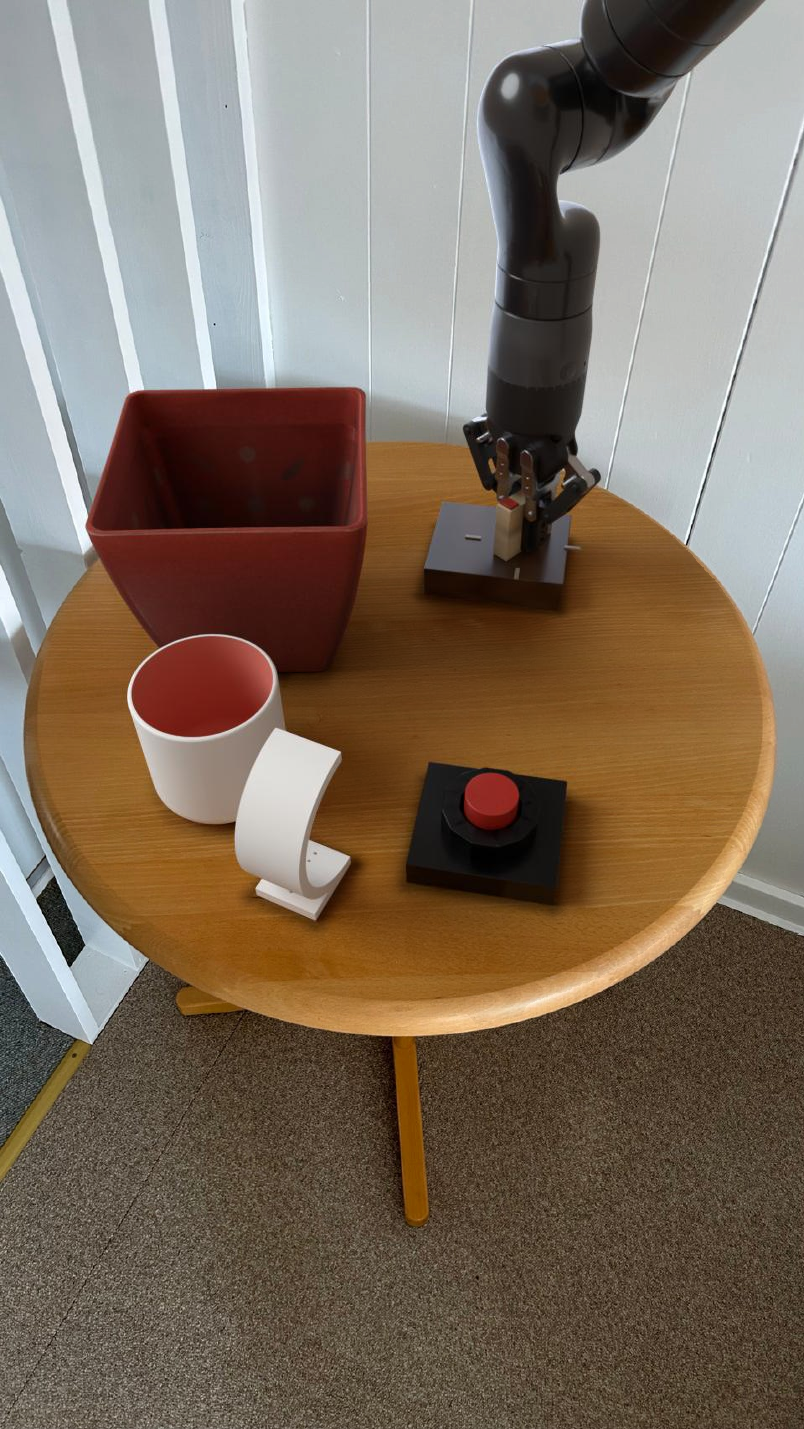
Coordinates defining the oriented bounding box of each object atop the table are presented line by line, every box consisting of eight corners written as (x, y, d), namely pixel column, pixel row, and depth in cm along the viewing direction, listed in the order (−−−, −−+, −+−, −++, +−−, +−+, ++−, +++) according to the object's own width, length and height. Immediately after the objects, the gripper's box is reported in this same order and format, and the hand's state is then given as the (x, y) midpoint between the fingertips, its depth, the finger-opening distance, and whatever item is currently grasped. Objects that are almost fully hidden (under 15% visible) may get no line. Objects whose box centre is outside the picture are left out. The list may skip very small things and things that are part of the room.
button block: (563, 799, 70) (570, 764, 67) (553, 905, 64) (560, 872, 61) (428, 780, 72) (429, 745, 69) (405, 882, 66) (405, 848, 63)
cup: (285, 832, 69) (269, 741, 61) (144, 832, 69) (112, 740, 61) (297, 727, 75) (284, 633, 68) (169, 726, 75) (142, 632, 68)
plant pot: (372, 550, 90) (366, 382, 78) (375, 699, 77) (367, 527, 65) (167, 555, 90) (127, 388, 77) (134, 706, 77) (80, 535, 64)
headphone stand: (351, 863, 67) (341, 752, 58) (307, 933, 63) (290, 826, 54) (293, 839, 68) (275, 727, 59) (248, 906, 65) (221, 798, 56)
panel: (579, 541, 91) (584, 513, 88) (571, 613, 84) (576, 585, 82) (441, 526, 92) (442, 499, 90) (423, 595, 86) (423, 567, 83)
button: (520, 792, 66) (522, 776, 65) (514, 834, 64) (516, 819, 63) (467, 784, 67) (469, 768, 66) (460, 826, 64) (461, 810, 63)
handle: (538, 524, 87) (543, 472, 83) (551, 532, 87) (558, 480, 83) (492, 553, 85) (496, 501, 81) (506, 561, 84) (510, 509, 80)
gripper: (643, 372, 71) (609, 558, 84) (504, 311, 78) (493, 492, 91) (577, 411, 68) (553, 598, 80) (438, 344, 74) (436, 527, 87)
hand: (521, 541), depth 85 cm, fingers closed on handle
